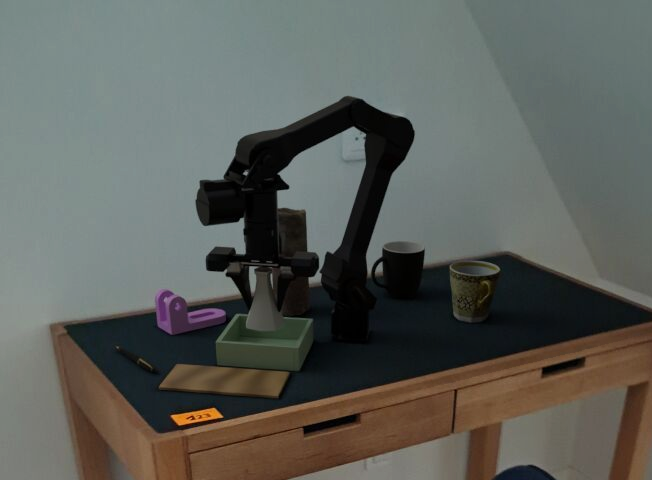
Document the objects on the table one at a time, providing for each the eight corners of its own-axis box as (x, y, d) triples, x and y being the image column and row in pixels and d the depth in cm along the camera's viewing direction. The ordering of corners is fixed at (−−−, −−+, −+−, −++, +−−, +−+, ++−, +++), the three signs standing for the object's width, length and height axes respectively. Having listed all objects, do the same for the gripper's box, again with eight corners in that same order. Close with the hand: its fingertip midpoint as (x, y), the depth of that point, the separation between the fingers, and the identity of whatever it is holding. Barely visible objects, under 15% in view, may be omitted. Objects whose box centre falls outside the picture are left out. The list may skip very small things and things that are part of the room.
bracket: (171, 335, 163) (168, 298, 159) (157, 326, 166) (153, 290, 162) (231, 321, 169) (228, 286, 166) (216, 313, 173) (214, 278, 169)
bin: (313, 341, 162) (313, 318, 160) (299, 371, 150) (298, 347, 148) (237, 335, 163) (236, 313, 161) (217, 365, 151) (215, 341, 149)
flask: (279, 334, 150) (277, 277, 145) (239, 330, 151) (236, 273, 146) (290, 320, 156) (289, 265, 150) (252, 317, 157) (249, 261, 152)
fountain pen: (113, 350, 156) (112, 342, 155) (119, 348, 156) (118, 340, 155) (152, 375, 147) (151, 367, 146) (158, 374, 147) (157, 365, 146)
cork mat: (289, 374, 149) (289, 371, 148) (277, 398, 140) (277, 395, 140) (177, 366, 150) (176, 363, 150) (158, 389, 142) (158, 386, 142)
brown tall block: (266, 308, 176) (261, 206, 165) (295, 302, 180) (293, 202, 169) (286, 319, 171) (283, 215, 160) (317, 312, 175) (316, 210, 164)
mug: (408, 285, 191) (411, 239, 186) (430, 297, 185) (433, 249, 179) (361, 292, 186) (362, 245, 181) (381, 305, 180) (382, 256, 174)
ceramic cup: (438, 310, 178) (442, 262, 172) (482, 307, 181) (487, 259, 175) (463, 332, 168) (467, 281, 162) (509, 328, 170) (515, 278, 165)
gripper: (324, 210, 149) (324, 299, 158) (218, 205, 151) (225, 293, 160) (313, 227, 140) (314, 320, 149) (201, 220, 142) (208, 313, 150)
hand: (265, 310), depth 152 cm, fingers closed on flask, 5 cm apart
